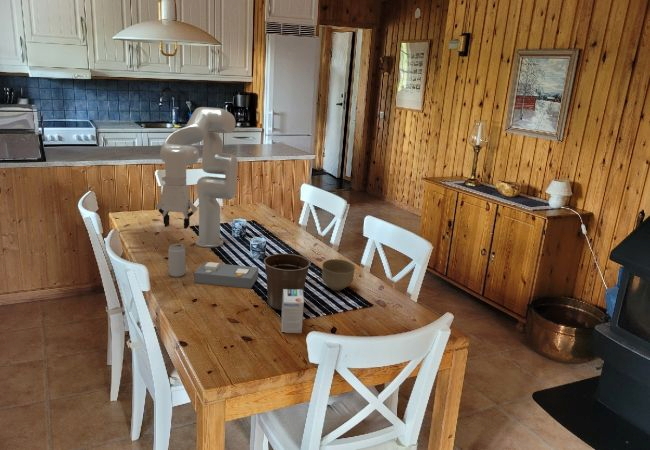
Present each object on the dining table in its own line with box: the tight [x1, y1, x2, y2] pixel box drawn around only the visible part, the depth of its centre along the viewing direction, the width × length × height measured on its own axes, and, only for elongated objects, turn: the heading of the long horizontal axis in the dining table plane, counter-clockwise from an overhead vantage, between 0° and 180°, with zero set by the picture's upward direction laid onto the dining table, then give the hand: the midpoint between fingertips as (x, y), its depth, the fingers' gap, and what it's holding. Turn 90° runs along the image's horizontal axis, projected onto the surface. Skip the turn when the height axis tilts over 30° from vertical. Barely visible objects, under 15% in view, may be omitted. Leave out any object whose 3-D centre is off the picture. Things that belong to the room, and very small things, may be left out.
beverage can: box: [167, 243, 187, 278], centre depth 206 cm, size 6×6×12 cm
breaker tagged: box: [235, 268, 249, 275], centre depth 204 cm, size 4×4×3 cm
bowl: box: [321, 258, 356, 291], centre depth 202 cm, size 13×13×10 cm
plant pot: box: [263, 253, 311, 311], centre depth 186 cm, size 16×16×16 cm
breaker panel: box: [193, 261, 259, 289], centre depth 205 cm, size 12×22×5 cm, turn 84°
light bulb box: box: [280, 289, 305, 334], centre depth 171 cm, size 11×7×11 cm, turn 5°
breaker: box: [205, 261, 220, 271], centre depth 205 cm, size 4×4×3 cm
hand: (176, 226), depth 202 cm, fingers open, 7 cm apart
